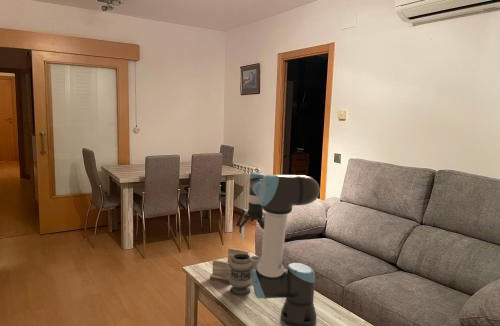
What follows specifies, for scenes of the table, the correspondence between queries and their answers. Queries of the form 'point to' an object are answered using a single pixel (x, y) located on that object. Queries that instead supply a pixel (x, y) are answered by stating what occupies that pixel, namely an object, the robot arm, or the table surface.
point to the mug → (255, 262)
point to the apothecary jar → (240, 274)
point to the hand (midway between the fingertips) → (254, 241)
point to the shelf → (224, 267)
